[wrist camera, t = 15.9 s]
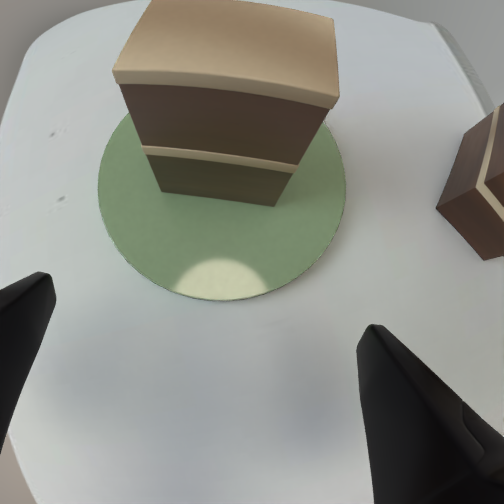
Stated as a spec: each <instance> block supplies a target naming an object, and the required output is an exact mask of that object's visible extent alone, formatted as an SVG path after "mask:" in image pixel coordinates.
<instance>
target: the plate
mask: <svg viewBox="0 0 504 504" xmlns="http://www.w3.org/2000/svg"><path fill="white" fill-rule="evenodd" d="M345 192H346V181H345V172H344V167H343V162H342V158H341V155H340V152H339V150H338V147H337V145H336V142H335V141H334V139H333V137H332V135H331V133H330V131H329V130H328V128H327V127H326V126H325V124H324V123H322V124H321V126H320V128H319V130H318V131H317V133H316V135H315V137H314V138H313V140H312V142H311V143H310V145H309V147H308V149H307V150H306V152H305V154H304V156H303V157H302V159H301V161H300V163H299V167H298V169H297V170H296V172H295V173H293V175H292V177H291V178H290V180H289V182H288V184H287V185H286V187H285V189H284V191H283V192H282V194H281V196H280V198H279V199H278V201H277V203H276V205H275V206H274V207H270V206H263V205H257V204H250V203H243V202H236V201H229V200H221V199H214V198H206V197H198V196H190V195H182V194H173V193H164V192H161V190H160V188H159V185H158V183H157V181H156V178H155V176H154V173H153V171H152V169H151V166H150V164H149V161H148V159H147V156H146V154H144V152H143V150H142V147H141V141H140V139H139V136H138V134H137V131H136V129H135V126H134V124H133V121H132V118H131V116H130V113H128V114H127V115H126V116H125V117H124V119H123V120H122V121H121V122H120V124H119V125H118V126H117V128H116V129H115V131H114V132H113V134H112V136H111V138H110V140H109V142H108V144H107V146H106V148H105V151H104V154H103V157H102V160H101V165H100V170H99V175H98V199H99V207H100V211H101V215H102V219H103V222H104V225H105V227H106V230H107V232H108V234H109V236H110V238H111V240H112V241H113V243H114V245H115V246H116V248H117V250H118V251H119V252H120V253H121V255H122V256H123V257H124V258H125V259H126V261H127V262H128V263H129V264H130V265H131V266H133V267H134V268H135V269H136V270H137V271H138V272H139V273H140V274H142V275H143V276H145V277H146V278H148V279H149V280H151V281H152V282H154V283H155V284H157V285H159V286H161V287H163V288H165V289H167V290H170V291H172V292H174V293H177V294H180V295H183V296H187V297H190V298H195V299H201V300H207V301H234V300H243V299H248V298H252V297H256V296H259V295H263V294H266V293H268V292H270V291H273V290H275V289H278V288H280V287H282V286H284V285H286V284H287V283H289V282H291V281H292V280H294V279H296V278H297V277H298V276H300V275H301V274H302V273H304V272H305V271H306V270H307V269H309V268H310V267H311V266H312V265H313V264H314V263H315V262H316V261H317V259H318V258H319V257H320V256H321V255H322V254H323V252H324V251H325V249H326V248H327V247H328V245H329V244H330V242H331V240H332V238H333V237H334V235H335V233H336V231H337V229H338V226H339V223H340V220H341V217H342V214H343V209H344V203H345Z"/></svg>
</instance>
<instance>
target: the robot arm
mask: <svg viewBox="0 0 504 504" xmlns="http://www.w3.org/2000/svg"><path fill="white" fill-rule="evenodd" d="M55 305H56V294H55V289H54V285H53V280H52V277H51V275H50V274H48V273H44V272H36V273H34V274H32V275H30V276H28V277H26V278H23V279H21V280H19V281H17V282H15V283H13V284H11V285H9V286H7V287H5V288H3V289H1V290H0V454H1V450H2V447H3V443H4V440H5V437H6V434H7V430H8V427H9V424H10V421H11V418H12V415H13V413H14V410H15V407H16V404H17V402H18V399H19V396H20V394H21V391H22V388H23V386H24V383H25V381H26V378H27V376H28V374H29V371H30V369H31V367H32V364H33V362H34V360H35V357H36V355H37V353H38V350H39V348H40V345H41V343H42V340H43V337H44V334H45V332H46V329H47V326H48V323H49V321H50V318H51V315H52V313H53V310H54V307H55ZM356 353H357V365H358V378H359V392H360V401H361V407H362V413H363V419H364V426H365V432H366V439H367V446H368V453H369V460H370V468H371V476H372V485H373V495H374V504H504V437H503V436H502V435H501V434H499V433H498V432H497V431H496V430H495V429H493V428H492V427H491V426H490V425H489V424H488V423H487V422H485V421H484V420H483V419H482V418H481V417H480V416H479V415H478V414H477V413H476V412H475V411H473V410H472V409H471V408H470V407H469V406H468V405H467V404H466V403H465V402H464V401H463V402H462V399H461V398H460V397H459V396H458V395H457V394H456V393H455V392H454V391H453V390H452V389H451V388H450V387H449V386H448V385H447V384H445V383H444V382H443V381H442V380H441V379H440V378H439V377H438V376H437V375H436V374H435V373H434V372H433V371H432V370H431V369H430V368H429V367H427V366H426V365H425V364H424V363H423V362H422V361H421V360H420V359H419V358H418V357H417V356H416V355H415V354H414V353H412V352H411V351H410V350H409V349H408V348H407V347H406V346H405V345H404V344H403V343H402V342H401V341H399V340H398V339H397V338H396V337H395V336H394V335H393V334H392V333H391V332H390V331H389V330H387V329H386V328H385V327H384V326H383V325H376V324H371V325H369V326H368V327H367V328H366V330H365V332H364V334H363V335H362V337H361V339H360V341H359V343H358V345H357V350H356Z"/></svg>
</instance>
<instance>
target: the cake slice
mask: <svg viewBox="0 0 504 504" xmlns="http://www.w3.org/2000/svg"><path fill="white" fill-rule="evenodd" d="M112 73H113V76H114V78H115V81H116V83H117V84H119V86H120V89H121V92H122V94H123V97H124V100H125V102H126V105H127V108H128V111H129V113H130V116H131V118H132V121H133V124H134V126H135V129H136V131H137V134H138V136H139V139H140V141H141V147H142V150H143V152H144V154H146V156H147V159H148V161H149V164H150V166H151V169H152V171H153V173H154V176H155V178H156V181H157V183H158V185H159V188H160V190H161V192H164V193H173V194H182V195H190V196H198V197H206V198H214V199H221V200H229V201H236V202H243V203H250V204H257V205H263V206H270V207H274V206H275V205H276V203H277V201H278V199H279V198H280V196H281V194H282V192H283V191H284V189H285V187H286V185H287V184H288V182H289V180H290V178H291V177H292V175H293V173H295V172H296V170H297V169H298V167H299V163H300V161H301V159H302V157H303V156H304V154H305V152H306V150H307V149H308V147H309V145H310V143H311V142H312V140H313V138H314V137H315V135H316V133H317V131H318V130H319V128H320V126H321V124H322V123H323V121H324V119H325V117H326V116H327V114H328V112H329V110H330V109H333V107H334V106H335V104H336V102H337V101H338V99H339V97H340V94H339V77H338V63H337V50H336V39H335V29H334V20H333V19H332V18H328V17H324V16H320V15H316V14H312V13H308V12H304V11H299V10H294V9H289V8H284V7H279V6H273V5H267V4H261V3H254V2H246V1H238V0H152V1H151V2H150V4H149V5H148V7H147V8H146V10H145V12H144V13H143V15H142V16H141V18H140V20H139V21H138V23H137V25H136V26H135V28H134V30H133V31H132V33H131V35H130V37H129V38H128V40H127V42H126V44H125V46H124V47H123V49H122V51H121V53H120V55H119V57H118V59H117V61H116V63H115V65H114V67H113V69H112Z"/></svg>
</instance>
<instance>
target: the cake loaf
mask: <svg viewBox="0 0 504 504" xmlns="http://www.w3.org/2000/svg"><path fill="white" fill-rule="evenodd" d="M436 209H437V210H438V211H439V212H440V213H441V214H442V215H443V216H444V217H445V218H446V219H447V220H448V221H449V222H450V223H451V224H452V225H453V226H454V227H455V229H456V230H457V231H458V232H459V233H460V234H461V235H462V236H463V237H464V238H465V239H466V241H467V242H468V243H469V244H470V245H471V246H472V247H473V249H474V250H475V251H476V252H477V253H478V254H479V255H480V257H481V258H482V259H483V260H488V259H492V258H496V257H500V256H504V103H503V104H502V105H501V106H498V107H497V108H496V109H494V111H493V112H492V113H490V114H489V115H488V116H487V117H485V118H484V119H483V120H481V121H480V122H479V123H478V124H476V125H475V126H474V127H472V128H471V129H470V130H469V131H467V132H466V133H465V134H464V137H463V140H462V143H461V146H460V149H459V151H458V154H457V157H456V160H455V162H454V165H453V168H452V170H451V173H450V175H449V178H448V180H447V183H446V185H445V188H444V190H443V193H442V195H441V197H440V200H439V202H438V204H437V207H436Z"/></svg>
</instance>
